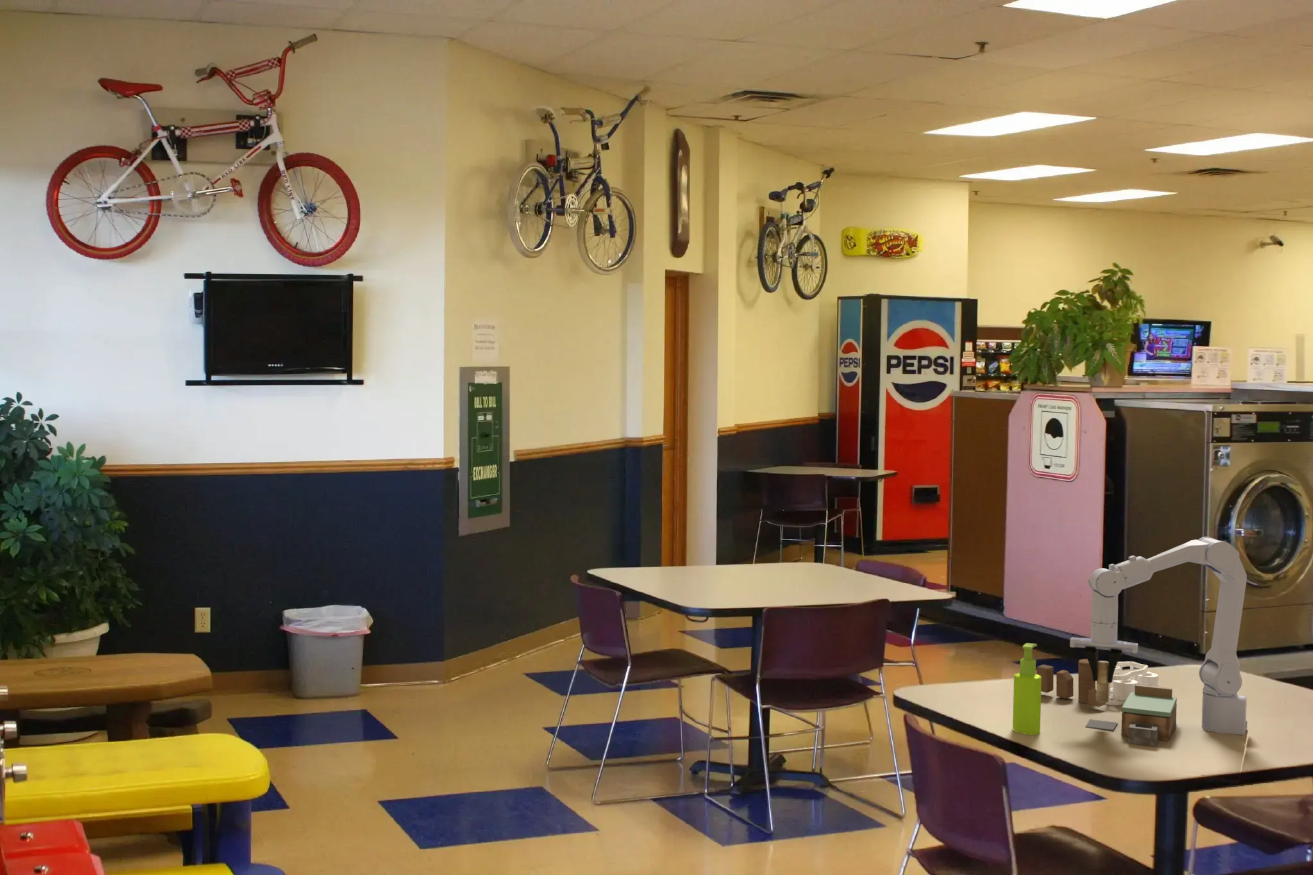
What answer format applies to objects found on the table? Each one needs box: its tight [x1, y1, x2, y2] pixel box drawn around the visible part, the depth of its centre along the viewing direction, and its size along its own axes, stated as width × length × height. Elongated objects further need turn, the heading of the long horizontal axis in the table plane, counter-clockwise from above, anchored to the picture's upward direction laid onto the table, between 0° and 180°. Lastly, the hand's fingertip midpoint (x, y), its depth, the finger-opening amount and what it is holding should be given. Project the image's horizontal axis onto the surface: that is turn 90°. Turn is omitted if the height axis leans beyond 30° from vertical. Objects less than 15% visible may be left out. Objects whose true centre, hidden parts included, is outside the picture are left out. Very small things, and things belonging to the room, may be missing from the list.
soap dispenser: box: [1012, 642, 1042, 736], centre depth 294 cm, size 6×7×20 cm
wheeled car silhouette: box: [1105, 661, 1159, 706], centre depth 328 cm, size 20×11×7 cm, turn 134°
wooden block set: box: [1036, 658, 1107, 708], centre depth 323 cm, size 18×9×10 cm, turn 43°
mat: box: [1085, 719, 1118, 732], centre depth 301 cm, size 6×7×1 cm
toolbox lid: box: [1121, 685, 1178, 717], centre depth 298 cm, size 10×16×3 cm, turn 154°
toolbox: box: [1120, 702, 1178, 747], centre depth 296 cm, size 10×22×5 cm, turn 154°
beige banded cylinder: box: [1096, 660, 1109, 703], centre depth 301 cm, size 3×3×9 cm
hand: (1102, 681), depth 301 cm, fingers closed on beige banded cylinder, 3 cm apart
